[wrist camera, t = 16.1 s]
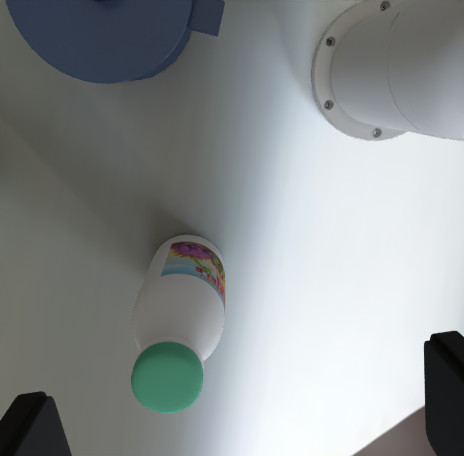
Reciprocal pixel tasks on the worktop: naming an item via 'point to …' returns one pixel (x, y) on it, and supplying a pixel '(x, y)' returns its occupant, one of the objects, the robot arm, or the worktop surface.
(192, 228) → the worktop surface
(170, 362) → the milk bottle
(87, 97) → the worktop surface
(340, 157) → the worktop surface
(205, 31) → the pot
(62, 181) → the worktop surface
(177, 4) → the pot lid
